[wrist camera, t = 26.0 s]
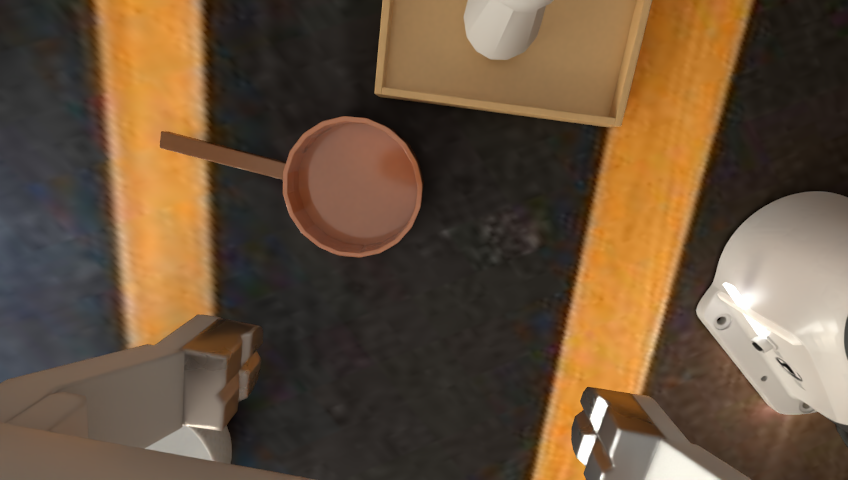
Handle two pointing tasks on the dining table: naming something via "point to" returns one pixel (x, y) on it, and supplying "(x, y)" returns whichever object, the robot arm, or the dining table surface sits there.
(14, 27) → the dining table surface
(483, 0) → the salt shaker
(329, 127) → the pan
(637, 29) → the tray
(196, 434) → the cereal bowl
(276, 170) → the pan handle
